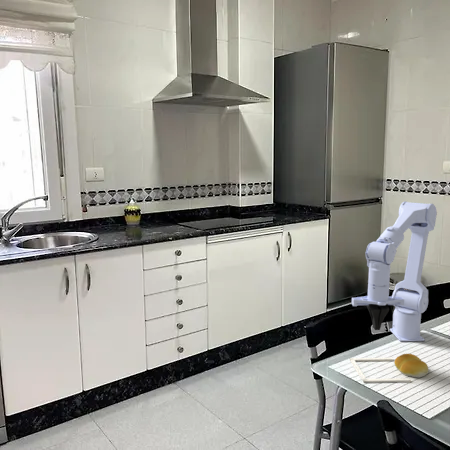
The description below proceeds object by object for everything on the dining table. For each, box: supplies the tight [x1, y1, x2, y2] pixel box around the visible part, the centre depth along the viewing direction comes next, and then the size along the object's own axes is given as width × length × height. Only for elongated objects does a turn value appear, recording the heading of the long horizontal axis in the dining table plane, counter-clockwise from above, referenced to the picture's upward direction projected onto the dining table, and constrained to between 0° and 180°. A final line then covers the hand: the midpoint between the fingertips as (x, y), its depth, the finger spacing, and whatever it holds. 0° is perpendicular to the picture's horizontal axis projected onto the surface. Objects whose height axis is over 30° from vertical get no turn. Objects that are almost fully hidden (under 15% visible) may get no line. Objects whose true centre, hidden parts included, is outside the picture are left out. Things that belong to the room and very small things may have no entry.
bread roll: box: [393, 353, 429, 378], centre depth 126 cm, size 8×9×4 cm
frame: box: [349, 357, 412, 384], centre depth 126 cm, size 13×12×1 cm
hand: (376, 328), depth 132 cm, fingers closed
